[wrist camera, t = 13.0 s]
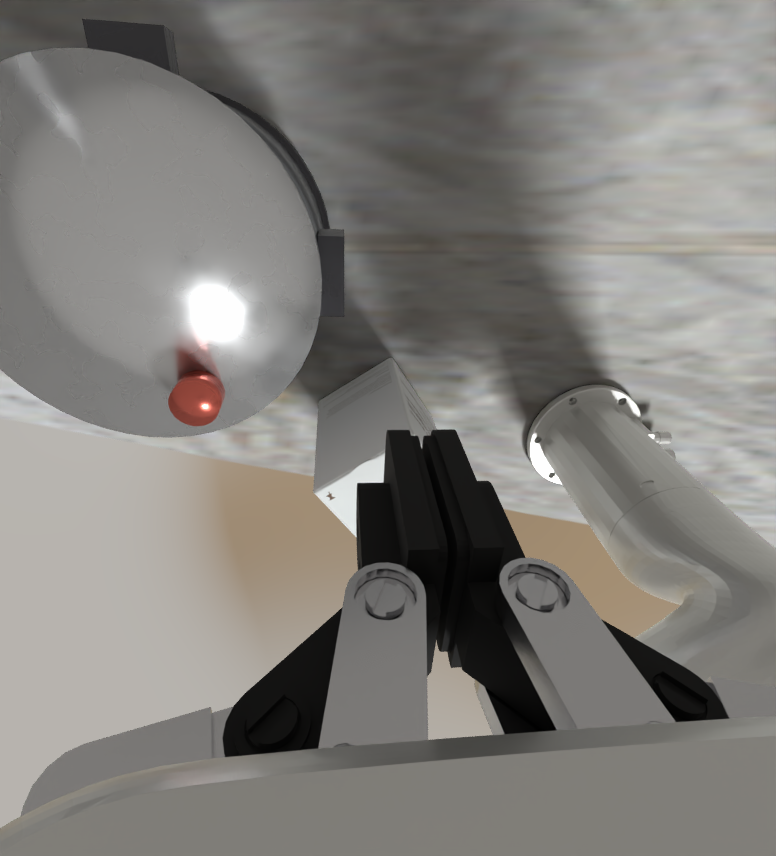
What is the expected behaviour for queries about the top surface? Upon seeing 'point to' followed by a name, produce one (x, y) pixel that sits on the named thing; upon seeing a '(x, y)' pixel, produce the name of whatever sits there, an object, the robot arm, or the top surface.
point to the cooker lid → (146, 248)
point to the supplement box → (362, 434)
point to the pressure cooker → (161, 52)
